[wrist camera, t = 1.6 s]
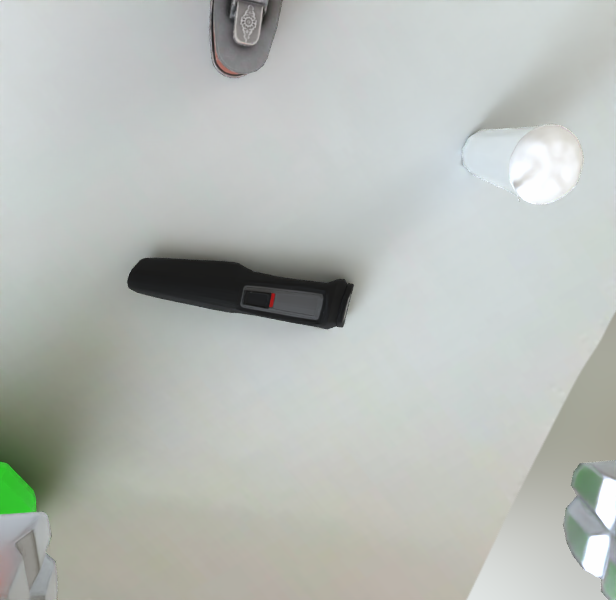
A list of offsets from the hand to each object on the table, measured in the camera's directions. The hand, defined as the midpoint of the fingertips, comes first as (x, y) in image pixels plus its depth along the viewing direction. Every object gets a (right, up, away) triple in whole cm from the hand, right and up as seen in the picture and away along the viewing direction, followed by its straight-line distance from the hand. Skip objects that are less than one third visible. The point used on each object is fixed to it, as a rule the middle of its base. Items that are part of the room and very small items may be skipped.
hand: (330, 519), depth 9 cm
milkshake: (+12, +14, +33) cm, 37 cm away
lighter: (-5, +21, +27) cm, 34 cm away
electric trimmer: (-5, +4, +33) cm, 33 cm away
